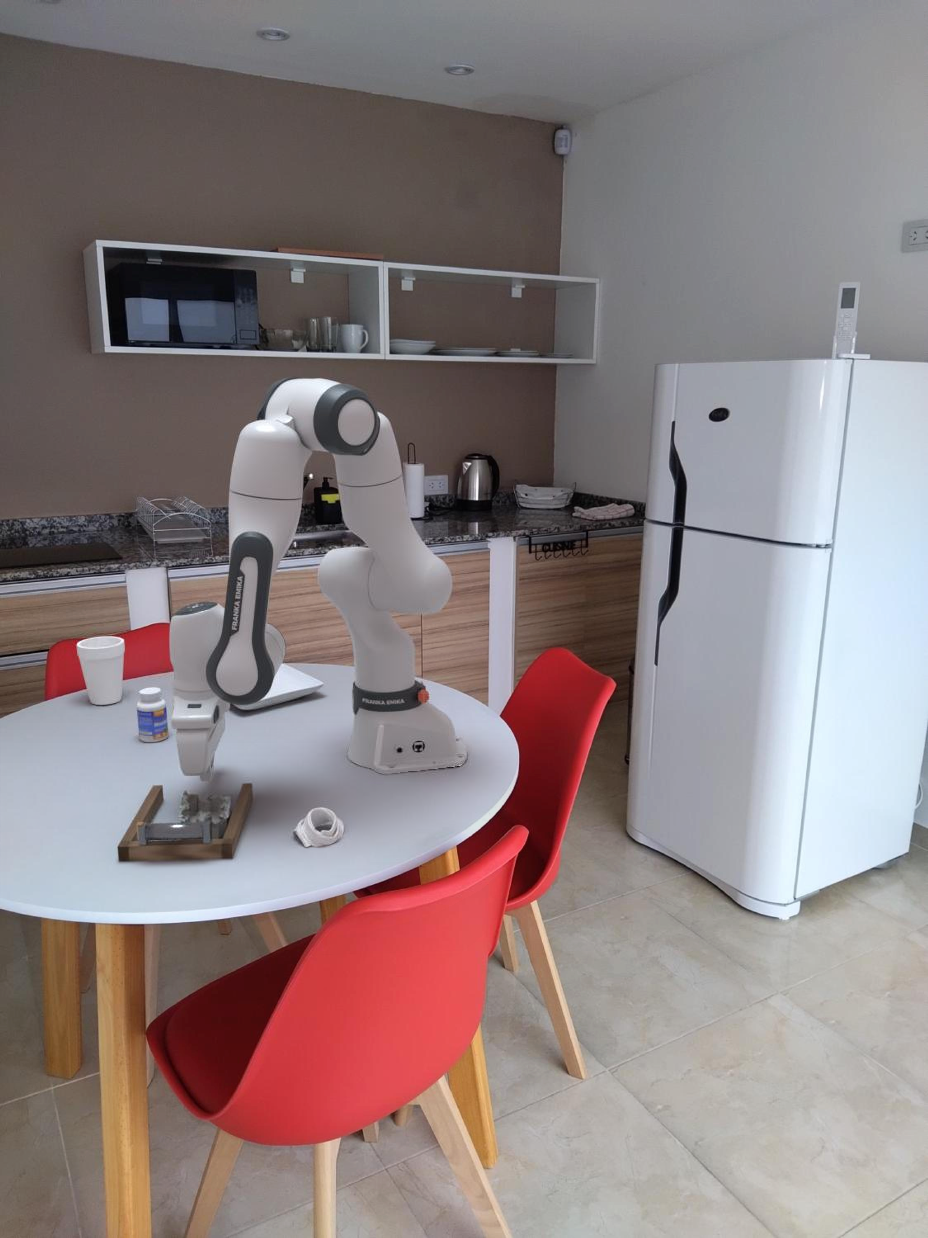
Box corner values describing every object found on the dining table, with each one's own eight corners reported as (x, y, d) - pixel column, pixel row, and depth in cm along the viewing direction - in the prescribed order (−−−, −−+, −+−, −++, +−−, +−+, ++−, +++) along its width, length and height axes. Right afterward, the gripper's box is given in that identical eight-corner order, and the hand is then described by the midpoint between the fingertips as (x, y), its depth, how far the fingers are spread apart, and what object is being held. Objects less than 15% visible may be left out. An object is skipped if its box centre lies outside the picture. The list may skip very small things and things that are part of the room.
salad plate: (241, 719, 184) (240, 703, 183) (194, 692, 199) (193, 678, 198) (327, 696, 198) (326, 682, 197) (277, 673, 213) (276, 660, 212)
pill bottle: (159, 744, 170) (155, 696, 167) (133, 741, 171) (129, 694, 168) (173, 733, 175) (170, 687, 172) (148, 731, 176) (145, 684, 173)
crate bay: (252, 799, 148) (252, 783, 147) (232, 862, 128) (231, 843, 128) (154, 802, 146) (153, 785, 146) (119, 865, 127) (117, 847, 126)
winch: (213, 837, 129) (211, 817, 128) (209, 845, 127) (208, 825, 126) (141, 839, 128) (139, 819, 128) (136, 847, 126) (134, 827, 125)
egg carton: (182, 812, 141) (182, 788, 141) (231, 811, 143) (231, 787, 142) (175, 843, 131) (175, 817, 130) (227, 841, 133) (227, 816, 132)
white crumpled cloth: (327, 823, 140) (327, 795, 139) (355, 838, 136) (354, 809, 135) (286, 841, 135) (285, 812, 134) (313, 857, 130) (312, 827, 129)
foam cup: (72, 703, 190) (66, 645, 187) (105, 690, 199) (99, 634, 195) (106, 709, 187) (101, 650, 184) (138, 696, 195) (133, 639, 192)
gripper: (194, 679, 155) (199, 753, 158) (168, 723, 135) (174, 805, 139) (231, 679, 155) (235, 752, 159) (210, 722, 136) (216, 804, 139)
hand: (207, 777), depth 149 cm, fingers closed
